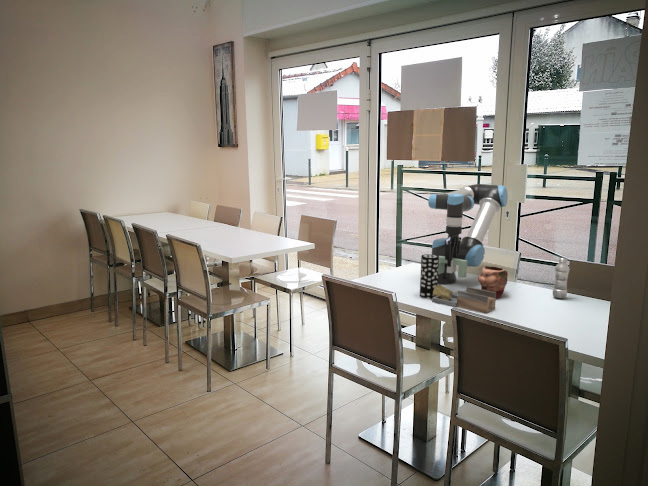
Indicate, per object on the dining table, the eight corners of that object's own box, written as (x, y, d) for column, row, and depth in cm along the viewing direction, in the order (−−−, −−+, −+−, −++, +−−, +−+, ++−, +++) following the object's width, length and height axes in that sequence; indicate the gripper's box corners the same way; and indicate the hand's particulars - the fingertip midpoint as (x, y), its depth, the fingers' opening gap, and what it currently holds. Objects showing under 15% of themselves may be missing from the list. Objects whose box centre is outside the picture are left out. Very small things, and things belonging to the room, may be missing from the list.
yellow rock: (443, 295, 247) (436, 291, 249) (446, 287, 245) (439, 284, 247) (439, 297, 244) (432, 293, 246) (442, 289, 242) (435, 286, 244)
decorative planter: (493, 288, 264) (495, 262, 262) (515, 294, 255) (517, 267, 253) (470, 296, 252) (472, 268, 249) (492, 302, 243) (495, 273, 240)
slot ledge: (466, 301, 243) (467, 286, 241) (494, 308, 234) (496, 292, 232) (456, 306, 235) (457, 291, 234) (486, 313, 226) (487, 297, 225)
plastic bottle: (566, 297, 251) (570, 257, 247) (566, 300, 245) (570, 260, 241) (552, 295, 254) (556, 255, 250) (551, 299, 248) (555, 258, 244)
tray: (444, 296, 251) (444, 292, 251) (467, 301, 243) (467, 297, 243) (432, 301, 242) (432, 297, 242) (455, 307, 235) (455, 303, 234)
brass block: (453, 292, 243) (451, 299, 244) (446, 288, 245) (443, 295, 247) (449, 293, 240) (447, 301, 242) (442, 290, 242) (439, 297, 244)
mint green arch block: (440, 271, 263) (441, 255, 261) (467, 276, 253) (468, 259, 252) (434, 273, 258) (435, 257, 257) (462, 279, 249) (463, 261, 247)
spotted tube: (437, 299, 247) (439, 258, 243) (419, 298, 248) (421, 257, 244) (436, 294, 255) (438, 254, 251) (419, 293, 256) (421, 253, 252)
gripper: (454, 222, 259) (451, 268, 264) (439, 226, 247) (436, 273, 252) (468, 224, 255) (465, 270, 259) (453, 228, 243) (450, 276, 247)
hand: (451, 272), depth 256 cm, fingers closed on mint green arch block, 3 cm apart
